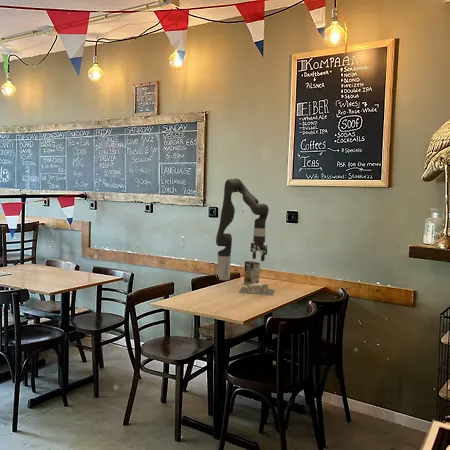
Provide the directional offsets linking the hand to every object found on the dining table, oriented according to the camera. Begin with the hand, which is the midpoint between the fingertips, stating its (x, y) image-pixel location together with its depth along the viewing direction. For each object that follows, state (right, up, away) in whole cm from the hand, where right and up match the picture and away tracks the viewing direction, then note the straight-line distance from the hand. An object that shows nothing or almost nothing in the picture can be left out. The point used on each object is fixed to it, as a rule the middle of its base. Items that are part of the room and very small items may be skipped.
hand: (258, 260), depth 304 cm
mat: (-1, -21, +2) cm, 21 cm away
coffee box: (-3, -19, +22) cm, 29 cm away
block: (+5, -18, +6) cm, 20 cm away
